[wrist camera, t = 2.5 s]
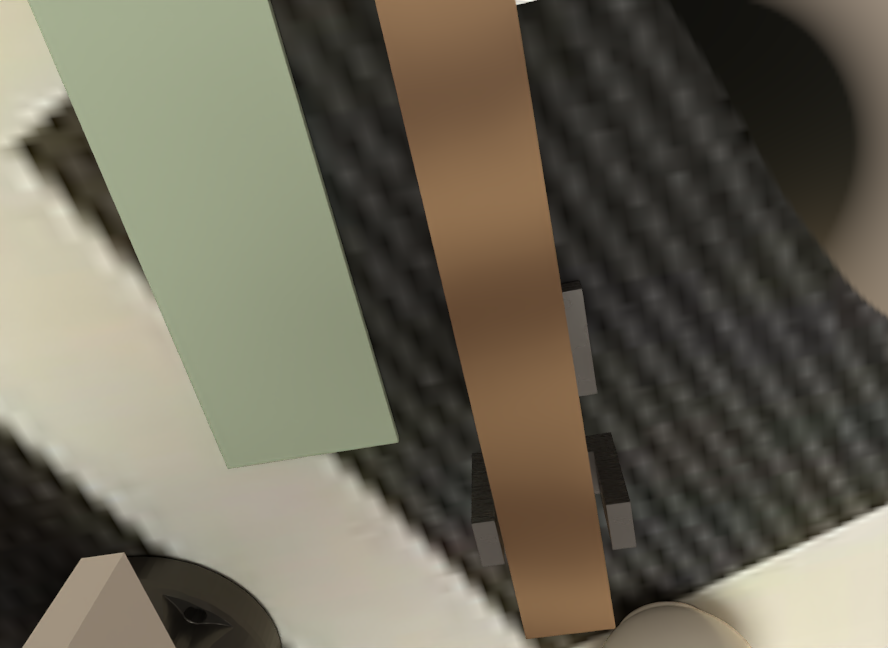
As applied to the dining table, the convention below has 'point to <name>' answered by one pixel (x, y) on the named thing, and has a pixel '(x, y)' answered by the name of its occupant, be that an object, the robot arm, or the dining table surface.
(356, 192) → the dining table surface
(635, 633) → the lidded jar
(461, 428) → the dining table surface
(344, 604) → the dining table surface
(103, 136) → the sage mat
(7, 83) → the dining table surface
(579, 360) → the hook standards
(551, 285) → the walnut bar
